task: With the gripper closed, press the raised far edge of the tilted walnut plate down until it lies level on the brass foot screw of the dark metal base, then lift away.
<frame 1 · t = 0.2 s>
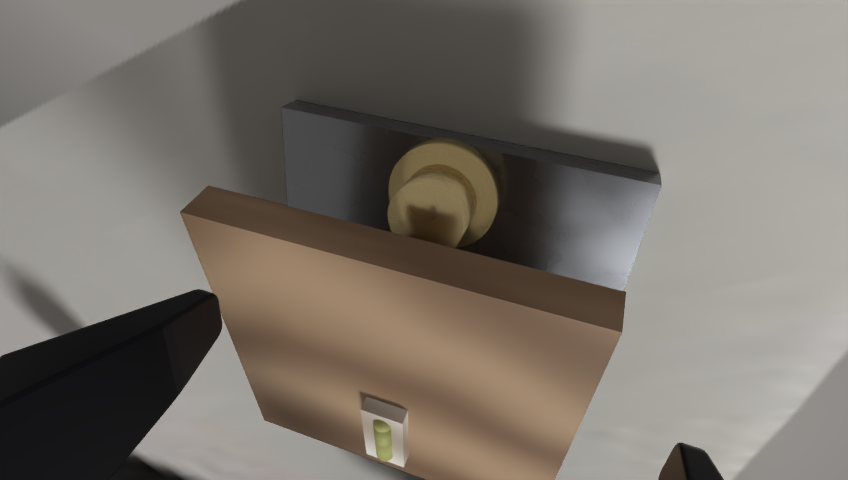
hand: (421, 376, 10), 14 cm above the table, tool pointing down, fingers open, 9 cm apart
top plate: (393, 384, 21), point 7 cm above the table, hinge at 12.0°
base: (443, 284, 26), on the table
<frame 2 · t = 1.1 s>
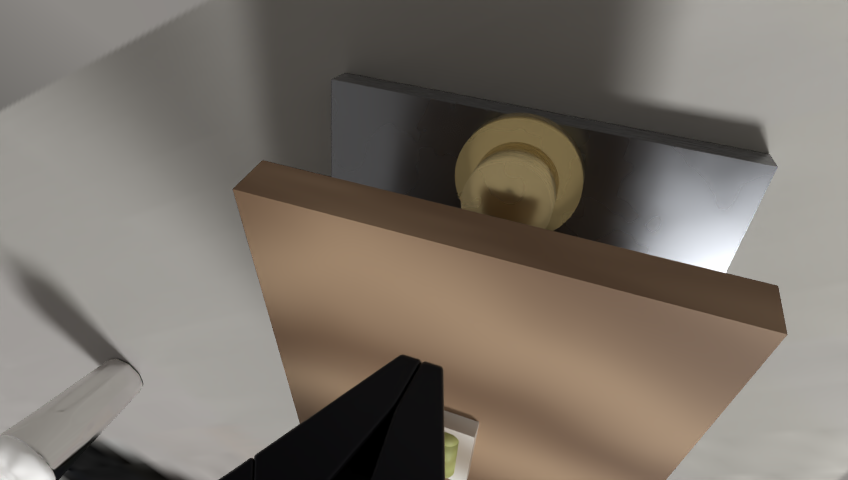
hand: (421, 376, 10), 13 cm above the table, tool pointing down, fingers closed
top plate: (461, 391, 19), point 7 cm above the table, hinge at 12.0°
milkshake: (123, 369, 39), on the table
base: (501, 280, 24), on the table
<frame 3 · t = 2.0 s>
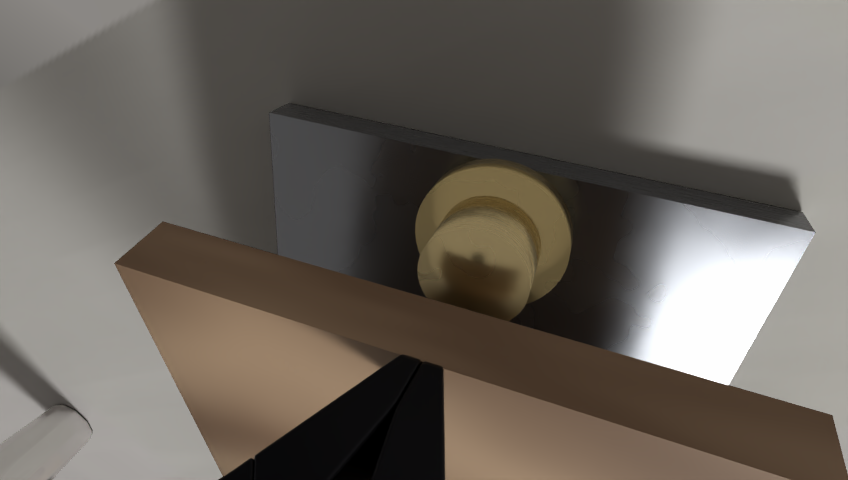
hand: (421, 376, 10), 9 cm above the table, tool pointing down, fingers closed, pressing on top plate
milkshake: (71, 415, 35), on the table
base: (477, 343, 20), on the table
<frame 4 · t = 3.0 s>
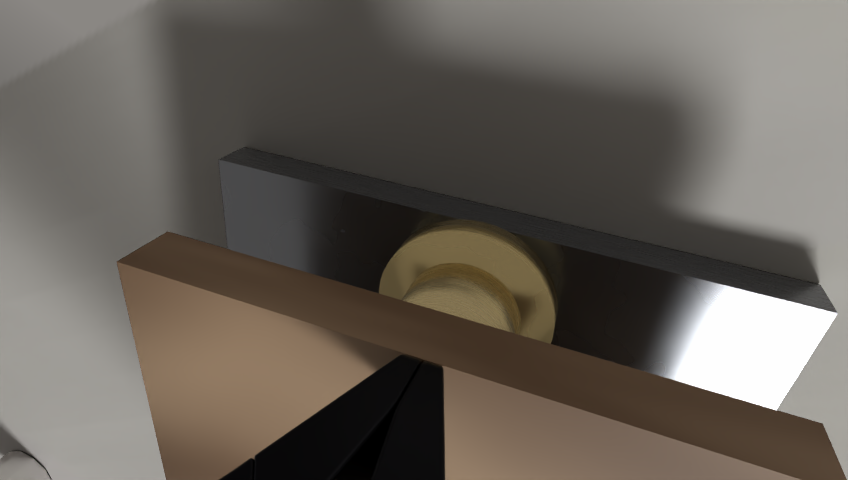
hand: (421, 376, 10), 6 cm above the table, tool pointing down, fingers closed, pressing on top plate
milkshake: (29, 461, 33), on the table
base: (456, 409, 18), on the table
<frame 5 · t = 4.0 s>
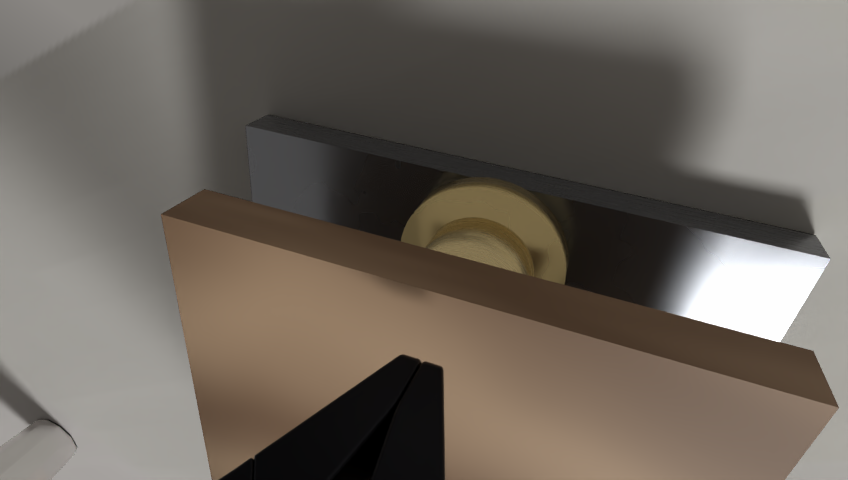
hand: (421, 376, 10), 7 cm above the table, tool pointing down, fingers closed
milkshake: (55, 429, 34), on the table
base: (469, 366, 19), on the table
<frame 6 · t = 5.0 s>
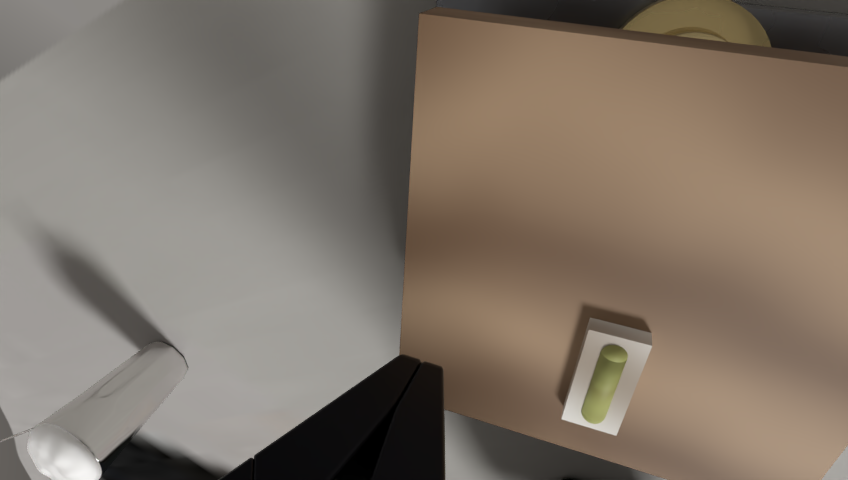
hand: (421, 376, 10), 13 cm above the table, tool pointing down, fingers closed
top plate: (623, 302, 16), point 5 cm above the table, hinge at -0.2°, touching base
milkshake: (166, 353, 36), on the table
base: (625, 221, 20), on the table
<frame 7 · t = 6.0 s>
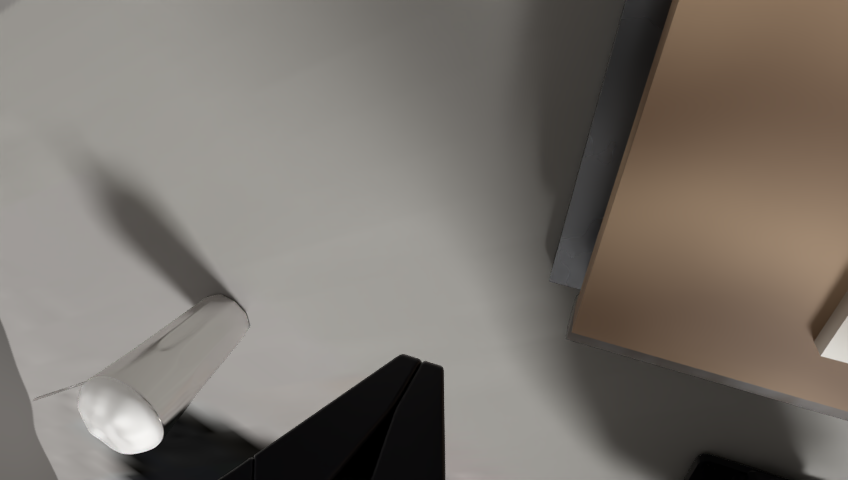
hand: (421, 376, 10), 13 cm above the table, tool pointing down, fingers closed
milkshake: (224, 308, 32), on the table
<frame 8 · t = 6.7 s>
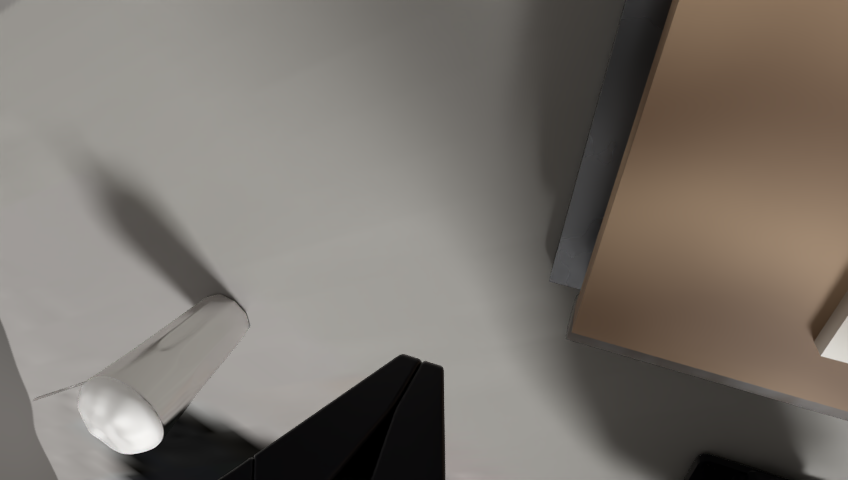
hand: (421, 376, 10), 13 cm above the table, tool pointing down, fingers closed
milkshake: (224, 308, 32), on the table
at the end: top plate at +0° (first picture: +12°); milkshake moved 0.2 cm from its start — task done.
